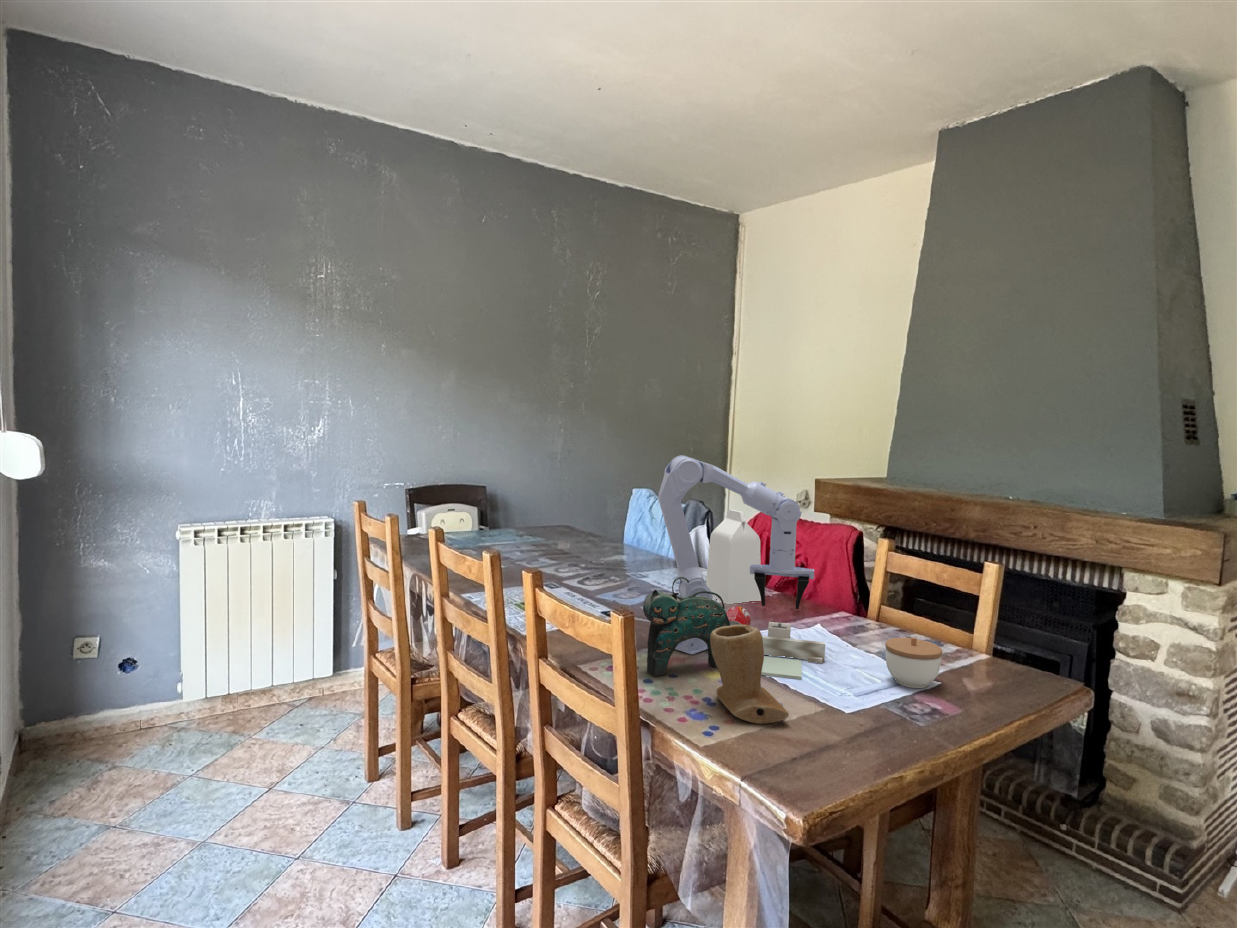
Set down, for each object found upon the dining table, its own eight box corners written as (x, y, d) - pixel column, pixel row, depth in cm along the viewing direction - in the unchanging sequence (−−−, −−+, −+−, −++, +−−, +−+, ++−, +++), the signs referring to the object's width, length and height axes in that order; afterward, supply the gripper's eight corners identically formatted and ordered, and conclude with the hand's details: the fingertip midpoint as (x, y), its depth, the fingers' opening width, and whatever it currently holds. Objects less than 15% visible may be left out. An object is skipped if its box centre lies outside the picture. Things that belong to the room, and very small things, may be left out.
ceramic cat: (648, 680, 141) (651, 582, 139) (635, 668, 147) (638, 574, 145) (733, 669, 148) (737, 576, 147) (718, 658, 154) (721, 569, 153)
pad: (801, 662, 153) (801, 660, 153) (801, 679, 143) (801, 676, 143) (754, 657, 155) (754, 655, 155) (751, 673, 146) (751, 670, 145)
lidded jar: (872, 676, 146) (874, 632, 146) (912, 670, 150) (915, 627, 149) (910, 695, 136) (912, 648, 136) (952, 689, 140) (955, 643, 139)
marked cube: (789, 644, 165) (790, 623, 165) (789, 651, 161) (790, 629, 160) (768, 642, 167) (769, 621, 166) (767, 648, 162) (768, 627, 161)
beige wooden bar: (823, 658, 156) (824, 640, 156) (824, 664, 152) (825, 646, 152) (733, 648, 161) (734, 631, 161) (732, 653, 157) (732, 636, 157)
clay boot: (700, 693, 134) (703, 617, 133) (760, 692, 136) (763, 616, 135) (723, 729, 119) (726, 643, 118) (789, 726, 121) (793, 642, 120)
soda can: (746, 636, 173) (743, 652, 161) (718, 626, 174) (713, 641, 162) (755, 610, 172) (752, 624, 160) (727, 600, 173) (722, 613, 162)
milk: (705, 594, 209) (708, 508, 207) (737, 591, 214) (740, 507, 212) (727, 605, 198) (731, 514, 196) (760, 601, 203) (764, 512, 201)
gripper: (814, 548, 164) (811, 604, 165) (752, 543, 168) (749, 599, 169) (815, 553, 158) (812, 612, 159) (750, 548, 161) (747, 606, 162)
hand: (780, 606), depth 163 cm, fingers open, 7 cm apart
